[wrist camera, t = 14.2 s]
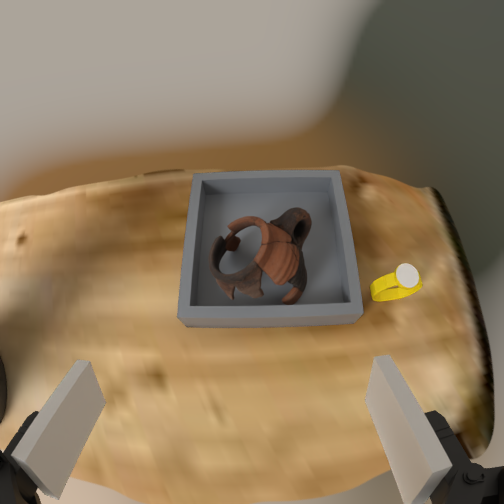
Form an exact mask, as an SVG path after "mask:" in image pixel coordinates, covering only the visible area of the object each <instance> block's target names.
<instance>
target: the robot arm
mask: <svg viewBox="0 0 504 504" xmlns="http://www.w3.org/2000/svg"><path fill="white" fill-rule="evenodd" d="M6 396H7V387H6V377H5V371H4V367H3V363H2V360H1V358H0V421H1V419H2V417H3V414H4V410H5V405H6ZM365 402H366V405H367V407H368V410H369V412H370V415H371V417H372V420H373V422H374V425H375V427H376V430H377V432H378V435H379V438H380V440H381V443H382V445H383V448H384V451H385V453H386V456H387V459H388V461H389V464H390V467H391V469H392V472H393V475H394V477H395V480H396V483H397V486H398V488H399V491H400V494H401V497H402V500H403V503H404V504H424V503H425V502H426V501H427V500H428V498H429V497H430V499H431V501H432V504H504V466H501V467H495V468H483V467H482V466H481V465H479V464H477V463H471V461H470V460H469V458H468V457H467V455H466V453H465V451H464V450H463V448H462V446H461V444H460V443H459V441H458V439H457V438H456V436H455V435H454V433H453V431H452V429H451V428H450V426H449V424H448V423H447V421H446V419H445V418H444V417H443V416H442V415H441V414H439V413H438V412H437V411H435V410H434V411H431V412H427V413H424V412H423V411H422V409H421V407H420V405H419V404H418V402H417V400H416V398H415V397H414V395H413V393H412V392H411V390H410V388H409V386H408V385H407V383H406V381H405V380H404V378H403V376H402V375H401V373H400V371H399V370H398V368H397V366H396V365H395V363H394V362H393V360H392V358H391V357H390V355H384V356H377V357H374V360H373V365H372V370H371V375H370V380H369V384H368V389H367V393H366V397H365ZM105 404H106V401H105V399H104V396H103V394H102V391H101V389H100V386H99V384H98V381H97V379H96V376H95V373H94V371H93V368H92V365H91V362H90V361H85V360H77V361H76V362H75V364H74V365H73V366H72V368H71V369H70V370H69V372H68V373H67V374H66V376H65V377H64V378H63V380H62V381H61V382H60V384H59V385H58V387H57V388H56V389H55V391H54V392H53V394H52V395H51V396H50V398H49V399H48V401H47V402H46V403H45V405H44V406H43V408H42V409H41V411H40V412H38V411H35V412H33V413H32V414H31V415H29V416H28V417H27V418H26V420H25V421H24V423H23V424H22V426H21V427H20V428H19V430H18V432H17V433H16V434H15V436H14V437H13V439H12V440H11V442H10V443H9V445H8V446H7V448H6V449H5V451H4V452H3V453H2V451H1V450H0V504H41V502H40V499H39V496H38V494H37V493H36V490H37V488H39V489H40V490H41V491H42V492H43V493H44V494H45V495H47V496H50V497H52V498H55V499H57V500H59V498H60V496H61V493H62V492H63V489H64V487H65V485H66V483H67V480H68V479H69V476H70V474H71V472H72V470H73V468H74V466H75V464H76V462H77V459H78V457H79V455H80V453H81V451H82V449H83V447H84V445H85V443H86V441H87V439H88V437H89V435H90V433H91V431H92V429H93V427H94V425H95V423H96V421H97V419H98V417H99V415H100V413H101V411H102V410H103V408H104V406H105Z"/></svg>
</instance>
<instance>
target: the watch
mask: <svg viewBox="0 0 504 504" xmlns="http://www.w3.org/2000/svg"><path fill="white" fill-rule="evenodd" d="M396 285H398V286H399V287H397V288H391V289H387V288H390V287H393V286H396ZM422 286H423V284H422V281H421V277H420V273H419V272H418V271H417V270H416V269H415V267H413V266H412V265H411V264H408V263H403V264H400V265H399V266H398V267H397V268H396V269H395V271H394V272H393V273H390V274H387V275H385V276H382V277H380V278H378V279H376V280H375V281H374V282H373V283H372V284H371V285H370V291H371V296H372V300H374V301H378V302H381V301H388V300H394V299H401V298H404V297H407V296H409V295H411V294H413V293H415V292H417V291H418V290H419V289H420V288H421V287H422Z"/></svg>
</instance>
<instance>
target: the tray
mask: <svg viewBox="0 0 504 504" xmlns="http://www.w3.org/2000/svg"><path fill="white" fill-rule="evenodd" d="M295 207H299V208H302V209H304V210H306V211H307V213H309V214H310V217H311V220H312V225H311V229H310V232H309V234H308V236H307V238H306V239H305V241H304V244H303V246H302V252H303V257H304V262H305V267H306V270H307V284H306V287H305V290H304V292H303V293H302V295H301V297H300V298H299V299H298V301H297V302H296V303H295V304H293V305H286V304H284V303H283V302H282V298H283V297H285V296H286V295H287V294H288V293H289V291H290V290H291V289H292V288H293V285H292V284H290V283H288V282H286V283H285V284H284V285H276V284H274V282H273V281H272V279H271V278H270V277H269V276H268V275H267V274H266V273H265V272H264V271H263V272H262V277H261V289H262V290H263V292H264V295H263V296H262V297H259V298H252V297H250V296H249V295H246V294H243V293H241V292H240V291H239V290H238V289H237V288H236V287H235V291H234V300H232V299H230V298H229V297H228V296H227V294H226V293H225V292H224V291H223V290H222V289H221V288H220V286H219V285H218V284H217V282H216V278H215V277H214V276H213V275H212V273H211V271H210V269H209V260H208V257H209V252H210V249H211V246H212V244H213V242H214V240H215V239H216V238H217V237H219V236H222V237H223V238H224V239H225V238H226V236H227V235H228V234H229V233H230V232H231V230H229V228H228V227H227V226H228V225H229V224H230V223H231V222H233V221H235V220H237V219H239V218H242V217H245V216H255V217H259V218H261V219H263V220H264V221H266V223H270V221H271V220H274V219H277V218H279V217H280V216H281V215H282V214H283V213H284V212H285V211H287V210H288V209H291V208H295ZM235 236H237V237H239V238H240V239H241V242H240V244H239V246H238V248H237V250H236V251H234V252H233V251H226V253H225V254H224V256H223V257H222V259H221V261H220V264H219V269H220V271H221V272H222V273H224V274H233V273H236V272H238V271H240V270H242V269H244V268H245V267H246V266H247V265H249V264H250V263H251V262H252V261H253V259H254V258H255V256H256V255H257V253H258V251H259V249H260V246H261V242H262V233H261V230H260V228H259V227H257V226H250V227H247V228H245V229H243V230H241V231H240V232H238V233H237V234H236V235H235ZM363 313H364V312H363V303H362V296H361V288H360V281H359V274H358V267H357V261H356V254H355V248H354V242H353V237H352V231H351V225H350V220H349V215H348V210H347V205H346V200H345V195H344V190H343V185H342V181H341V176H340V172H339V170H264V171H233V172H213V173H196V174H193V180H192V187H191V194H190V201H189V208H188V216H187V224H186V232H185V241H184V250H183V259H182V268H181V279H180V289H179V301H178V313H177V318H178V319H179V320H180V321H181V322H182V323H183V324H184V325H185V326H186V327H201V328H262V327H298V326H321V325H339V324H354V323H355V322H356V321H357V320H358V319H359V318H360V316H361V315H362V314H363Z"/></svg>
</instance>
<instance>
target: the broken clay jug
mask: <svg viewBox="0 0 504 504" xmlns="http://www.w3.org/2000/svg"><path fill="white" fill-rule="evenodd" d="M311 225H312V220H311V217H310V214H309V213H307V211H306V210H304V209H302V208H299V207H295V208H291V209H288V210H287V211H285V212H284V213H283V214H282V215H281V216H280V217H279V218H277V219H274V220H271V221H270V223H266V221H264V220H263V219H261V218H259V217H255V216H245V217H242V218H239V219H237V220H235V221H233V222H231V223H230V224H229V225H228V226H227V227H228V228H229V230H231V232H230V233H229V234H228V235H227V236H226V238H225V239H224V238H223V237H222V236H219V237H217V238H216V239H215V240H214V242H213V244H212V246H211V249H210V252H209V257H208V260H209V269H210V271H211V273H212V275H213V276H214V277H215V278H216V282H217V284H218V285H219V286H220V288H221V289H222V290H223V291H224V292H225V293H226V294H227V296H228V297H229V298H230V299H232V300H234V291H235V287H236V288H237V289H238V290H239V291H240V292H241V293H243V294H246V295H249V296H250V297H252V298H259V297H262V296H263V295H264V292H263V290H262V289H261V277H262V272H263V271H264V272H265V273H266V274H267V275H268V276H269V277H270V278H271V279H272V281H273V282H274V284H276V285H284V284H285V283H286V282H288V283H290V284H292V285H293V288H292V289H291V290H290V291H289V293H288V294H287V295H286V296H285V297H283V298H282V302H283V303H284V304H286V305H293V304H295V303H296V302H297V301H298V299H299V298H300V297H301V295H302V293H303V292H304V290H305V287H306V284H307V270H306V267H305V262H304V257H303V252H302V246H303V244H304V241H305V239H306V238H307V236H308V234H309V232H310V229H311ZM250 226H257V227H259V228H260V230H261V233H262V242H261V246H260V249H259V251H258V253H257V255H256V256H255V258H254V259H253V261H252V262H251V263H250V264H249V265H247V266H246V267H245V268H244V269H242V270H240V271H238V272H236V273H233V274H224V273H222V272H221V271H220V269H219V264H220V261H221V259H222V257H223V256H224V254H225V253H226V251H233V252H234V251H236V250H237V248H238V246H239V244H240V242H241V239H240V238H239V237H237V236H235V235H236V234H237V233H238V232H240V231H241V230H243V229H245V228H247V227H250Z"/></svg>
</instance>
